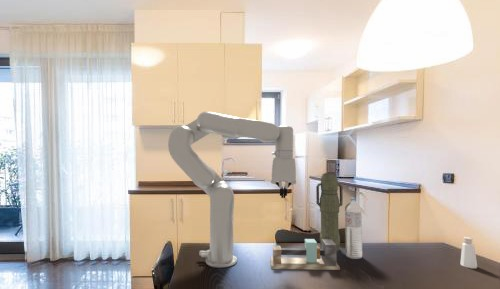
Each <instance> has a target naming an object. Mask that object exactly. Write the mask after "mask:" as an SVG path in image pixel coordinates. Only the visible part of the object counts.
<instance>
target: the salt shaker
mask: <svg viewBox="0 0 500 289" xmlns="http://www.w3.org/2000/svg"><path fill="white" fill-rule="evenodd" d="M476 254H477V253H476V249H475V245H474V244H473V238H472V237H469V236H463V242H462V244H461V252H460V264H459V265H460V266H462V267H464V268H468V269H477V268H478V263H477V262H478V261H477V255H476Z"/></svg>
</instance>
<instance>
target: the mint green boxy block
mask: <svg viewBox="0 0 500 289" xmlns="http://www.w3.org/2000/svg"><path fill="white" fill-rule="evenodd" d="M317 245H318V242H317V241H316V240H315V238H304V248H306V255H304V258H305V260H306V262H317Z"/></svg>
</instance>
